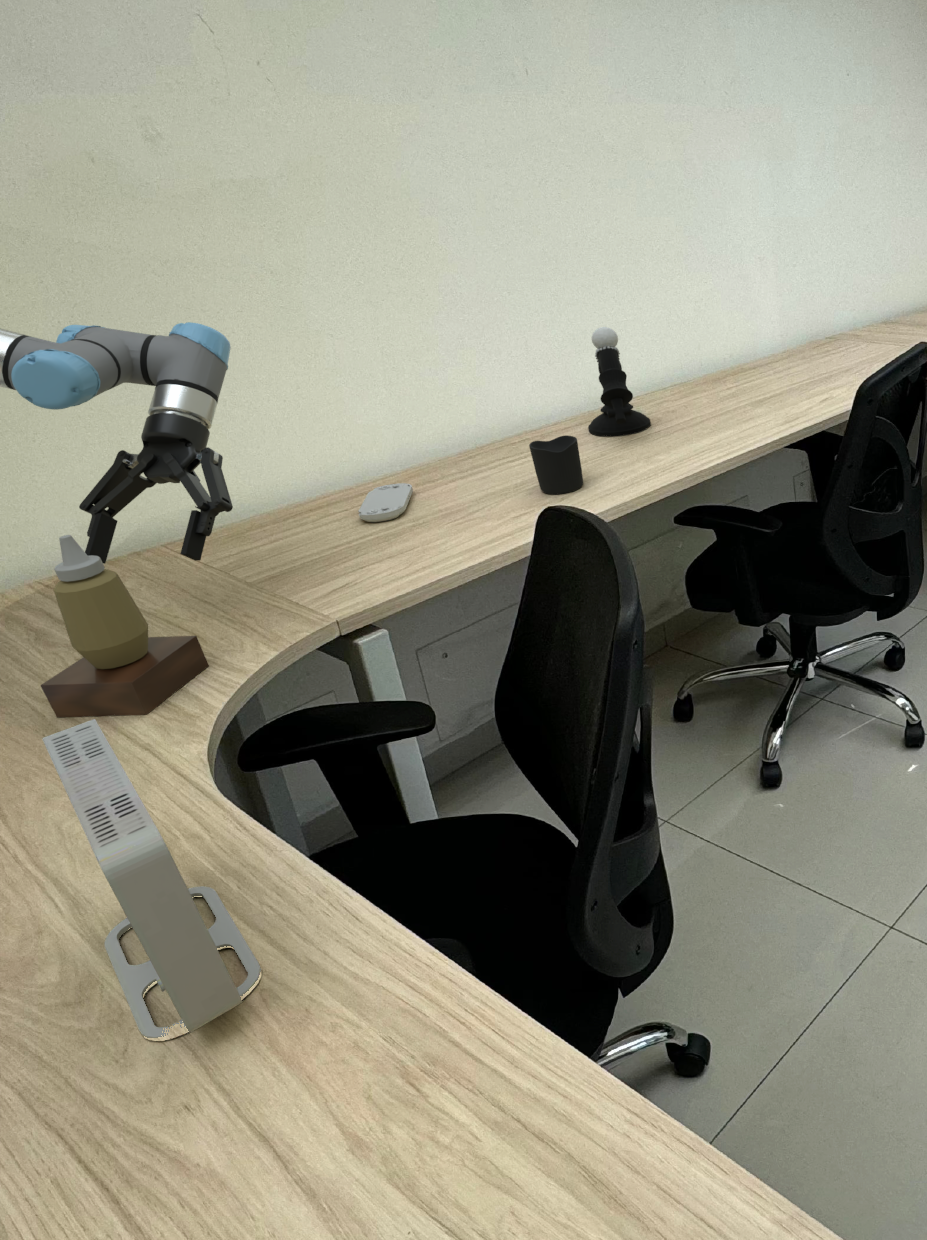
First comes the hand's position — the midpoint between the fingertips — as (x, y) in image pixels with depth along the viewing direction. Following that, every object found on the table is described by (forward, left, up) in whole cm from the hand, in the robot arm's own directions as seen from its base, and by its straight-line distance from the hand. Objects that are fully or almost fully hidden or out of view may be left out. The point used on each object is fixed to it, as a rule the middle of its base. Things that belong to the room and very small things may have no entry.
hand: (142, 559), depth 126 cm
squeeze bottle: (0, -10, -11) cm, 14 cm away
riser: (0, -10, -15) cm, 18 cm away
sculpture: (+36, +104, -16) cm, 112 cm away
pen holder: (+34, +65, -16) cm, 76 cm away
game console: (+1, +57, -16) cm, 59 cm away
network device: (+40, -56, -16) cm, 70 cm away
